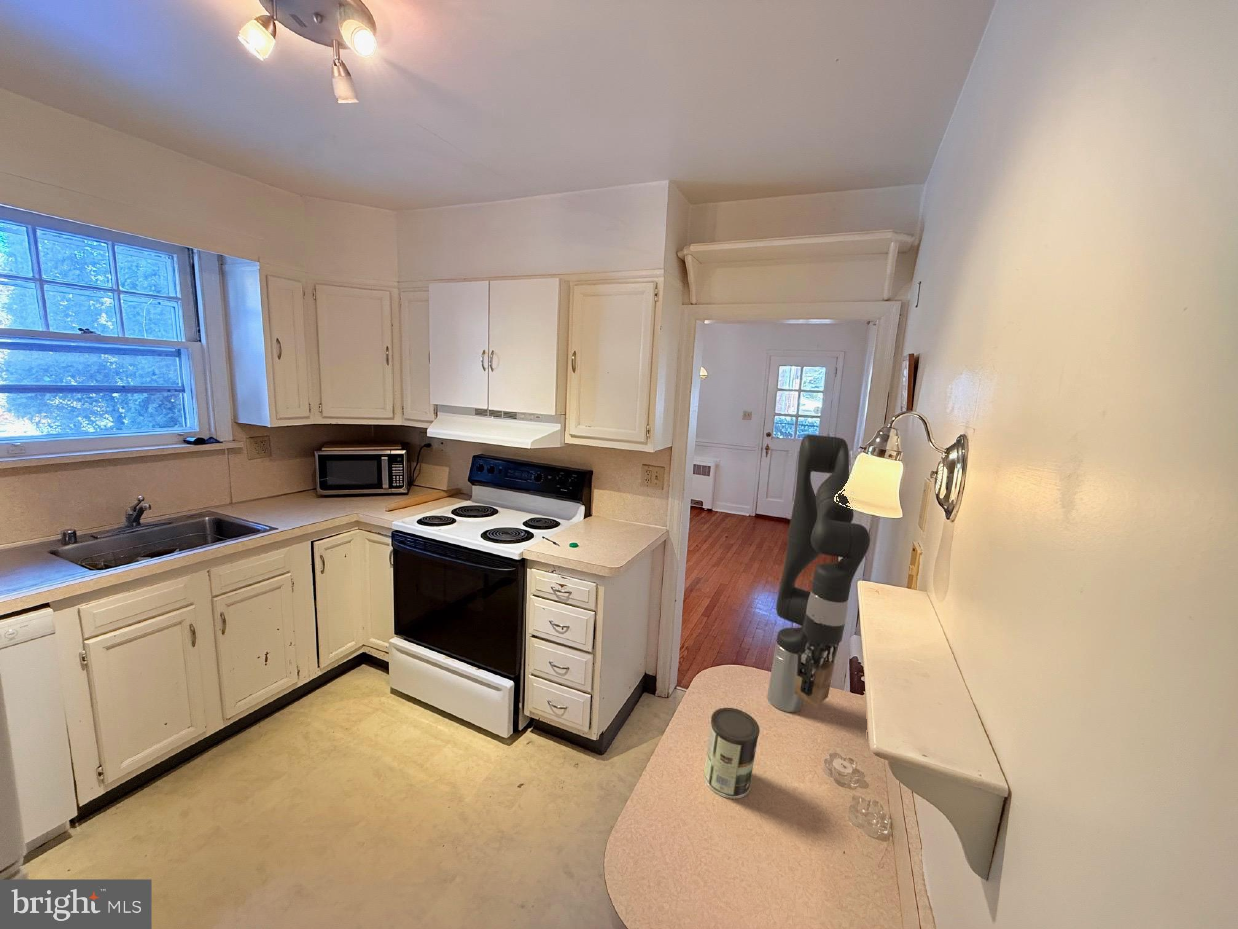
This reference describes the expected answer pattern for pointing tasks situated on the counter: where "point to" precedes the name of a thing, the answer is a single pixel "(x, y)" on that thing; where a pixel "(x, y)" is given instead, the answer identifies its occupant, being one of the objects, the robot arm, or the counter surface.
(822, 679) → the walnut block
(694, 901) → the counter surface
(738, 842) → the counter surface
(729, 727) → the coffee can
